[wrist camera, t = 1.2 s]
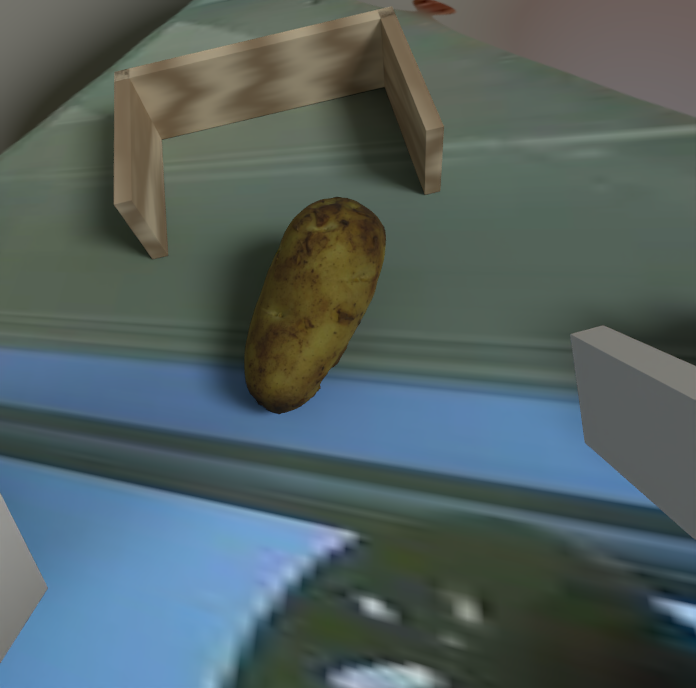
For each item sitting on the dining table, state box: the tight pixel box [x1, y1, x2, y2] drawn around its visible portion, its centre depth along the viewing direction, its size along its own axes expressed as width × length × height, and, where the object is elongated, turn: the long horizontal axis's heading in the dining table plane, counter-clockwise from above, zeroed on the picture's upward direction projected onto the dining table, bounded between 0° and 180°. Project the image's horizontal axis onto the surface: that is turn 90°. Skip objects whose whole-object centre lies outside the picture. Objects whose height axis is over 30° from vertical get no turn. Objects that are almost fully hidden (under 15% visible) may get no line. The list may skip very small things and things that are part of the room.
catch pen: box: [114, 7, 444, 259], centre depth 42 cm, size 22×14×6 cm, turn 102°
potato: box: [244, 197, 386, 414], centre depth 33 cm, size 8×13×8 cm, turn 135°
